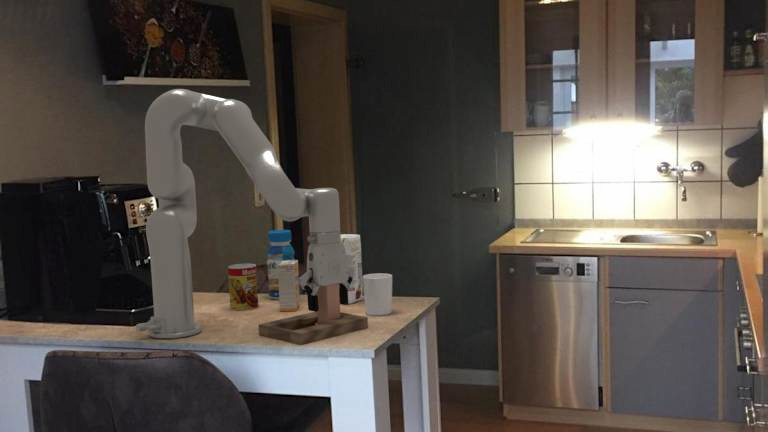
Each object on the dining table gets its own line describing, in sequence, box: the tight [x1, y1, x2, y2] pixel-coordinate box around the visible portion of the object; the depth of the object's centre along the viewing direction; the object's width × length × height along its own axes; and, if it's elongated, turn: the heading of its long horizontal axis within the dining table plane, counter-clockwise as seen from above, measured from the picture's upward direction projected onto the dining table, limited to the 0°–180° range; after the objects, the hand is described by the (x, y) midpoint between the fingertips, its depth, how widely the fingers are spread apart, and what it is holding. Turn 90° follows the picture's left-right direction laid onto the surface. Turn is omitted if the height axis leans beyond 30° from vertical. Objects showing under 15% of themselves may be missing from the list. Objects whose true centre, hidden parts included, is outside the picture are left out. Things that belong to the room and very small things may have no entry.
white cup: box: [362, 272, 393, 316], centre depth 217 cm, size 8×8×10 cm
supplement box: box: [278, 259, 301, 312], centre depth 227 cm, size 8×5×13 cm, turn 179°
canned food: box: [227, 263, 259, 312], centre depth 231 cm, size 8×8×12 cm
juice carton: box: [339, 233, 364, 305], centre depth 234 cm, size 8×9×19 cm
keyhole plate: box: [257, 311, 369, 346], centre depth 199 cm, size 21×16×3 cm
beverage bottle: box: [266, 229, 296, 301], centre depth 244 cm, size 8×8×20 cm
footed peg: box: [315, 284, 341, 325], centre depth 202 cm, size 7×7×12 cm
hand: (328, 307), depth 202 cm, fingers open, 9 cm apart
